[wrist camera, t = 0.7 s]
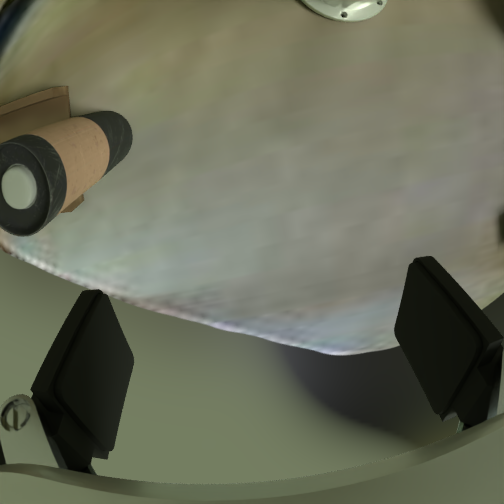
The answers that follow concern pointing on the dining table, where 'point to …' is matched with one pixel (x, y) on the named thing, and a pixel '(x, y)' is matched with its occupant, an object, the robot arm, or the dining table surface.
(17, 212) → the travel mug
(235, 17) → the dining table surface
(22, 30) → the dining table surface
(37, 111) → the tray
